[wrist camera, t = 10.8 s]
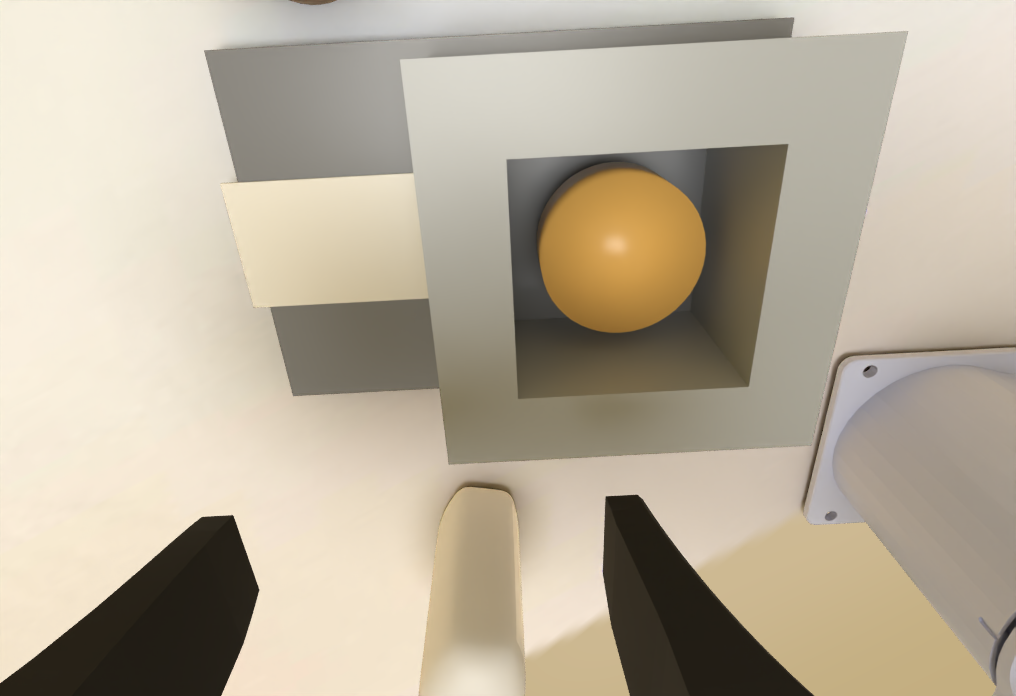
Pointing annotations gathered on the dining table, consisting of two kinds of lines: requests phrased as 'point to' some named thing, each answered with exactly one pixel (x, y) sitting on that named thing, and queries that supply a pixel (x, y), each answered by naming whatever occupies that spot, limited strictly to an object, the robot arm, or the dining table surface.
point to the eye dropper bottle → (475, 600)
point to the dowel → (313, 1)
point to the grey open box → (516, 214)
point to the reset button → (619, 247)
